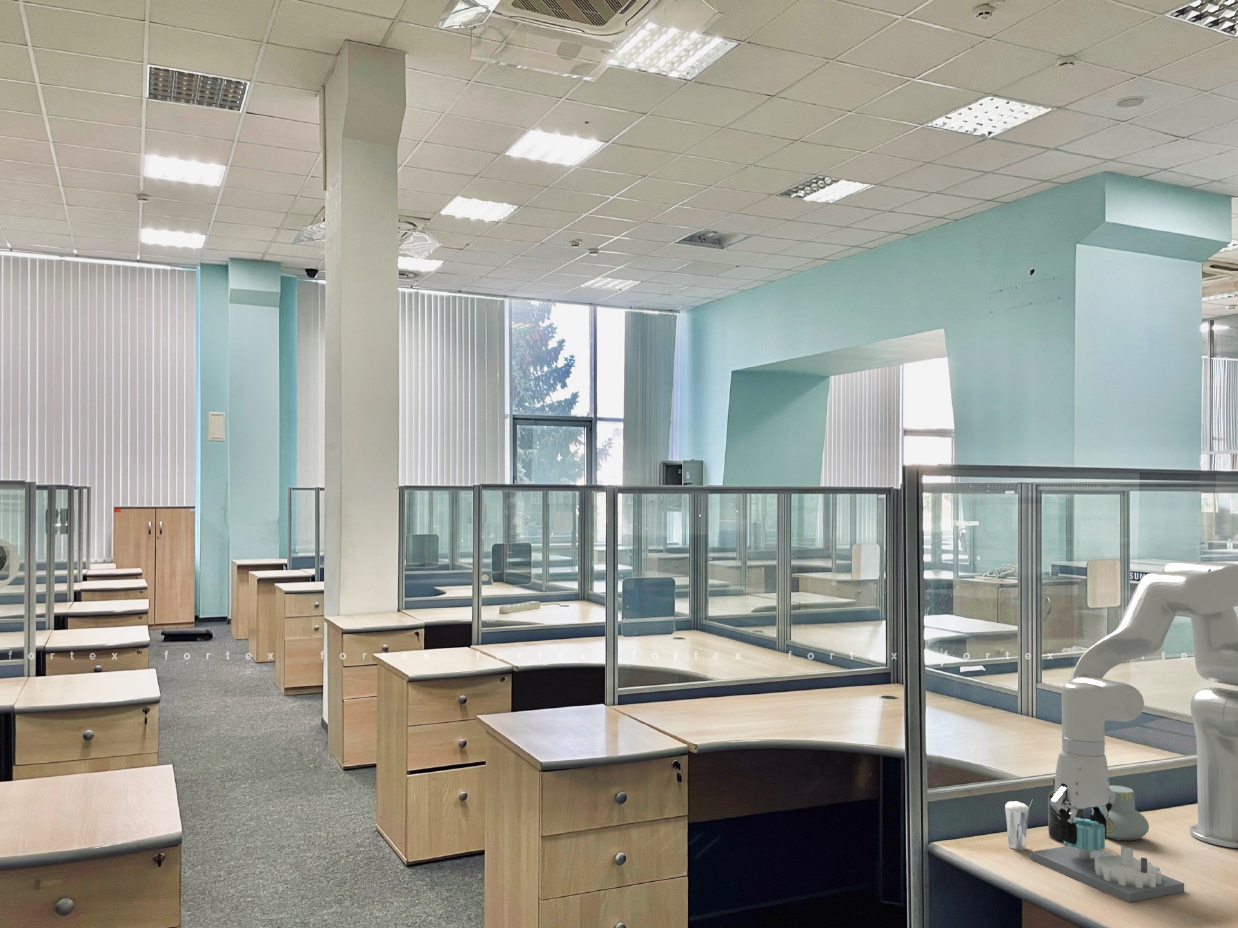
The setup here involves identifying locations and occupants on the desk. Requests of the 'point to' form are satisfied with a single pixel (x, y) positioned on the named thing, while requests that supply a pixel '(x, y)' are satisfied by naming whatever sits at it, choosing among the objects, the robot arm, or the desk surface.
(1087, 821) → the gear
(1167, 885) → the gear board
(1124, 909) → the desk surface
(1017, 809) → the milkshake
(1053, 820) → the supplement bottle
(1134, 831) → the air freshener
